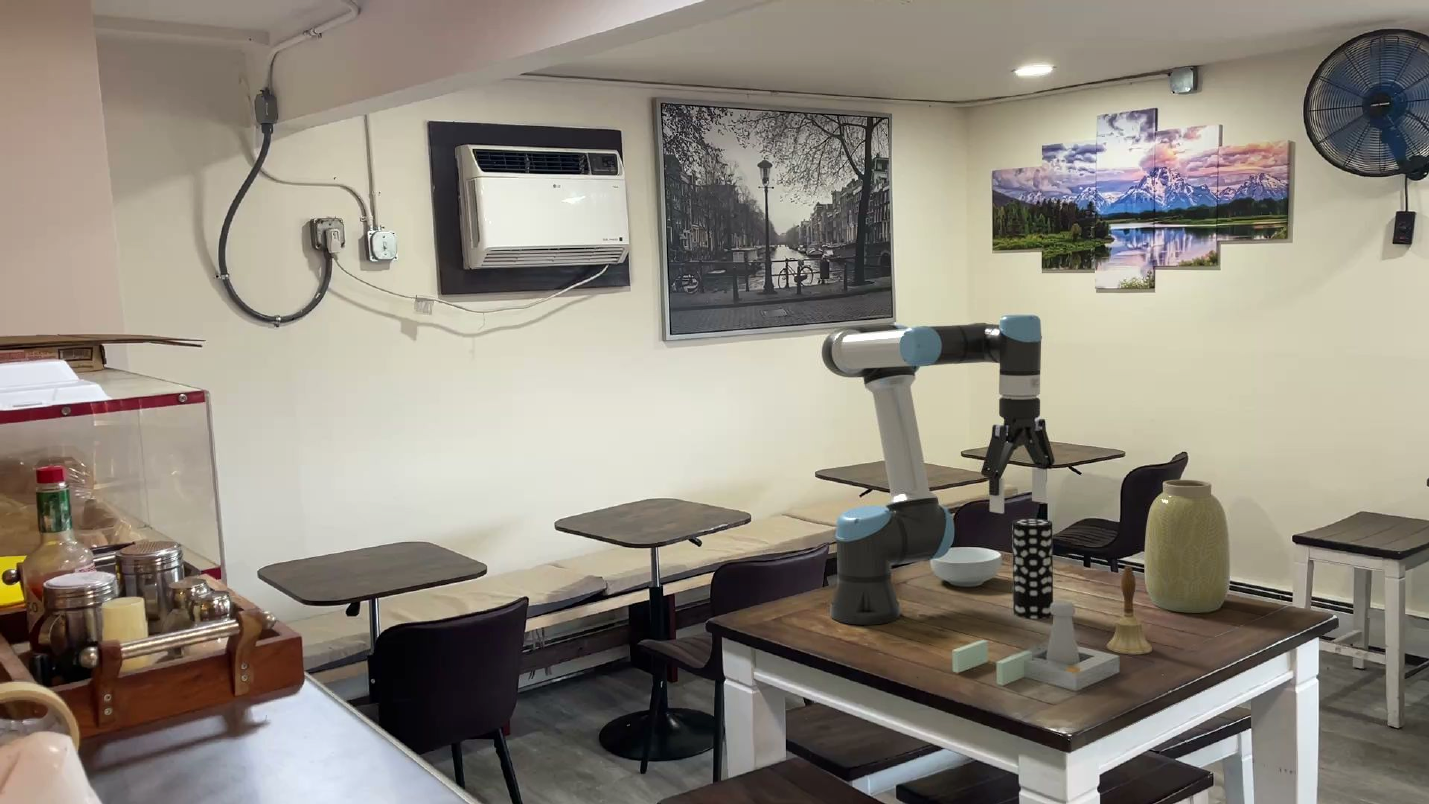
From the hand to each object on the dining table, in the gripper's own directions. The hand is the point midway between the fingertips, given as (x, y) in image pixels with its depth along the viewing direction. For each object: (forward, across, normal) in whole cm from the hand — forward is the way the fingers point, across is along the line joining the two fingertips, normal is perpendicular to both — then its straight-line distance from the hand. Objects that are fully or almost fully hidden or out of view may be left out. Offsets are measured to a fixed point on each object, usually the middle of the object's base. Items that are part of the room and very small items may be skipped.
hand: (1018, 507), depth 214 cm
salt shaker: (+28, -5, -14) cm, 32 cm away
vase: (+29, +52, -8) cm, 59 cm away
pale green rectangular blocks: (+28, -14, -5) cm, 32 cm away
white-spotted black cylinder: (+29, +23, +12) cm, 39 cm away
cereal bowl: (+30, +35, +39) cm, 61 cm away
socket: (+28, -6, -14) cm, 31 cm away
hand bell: (+28, +16, -15) cm, 35 cm away
